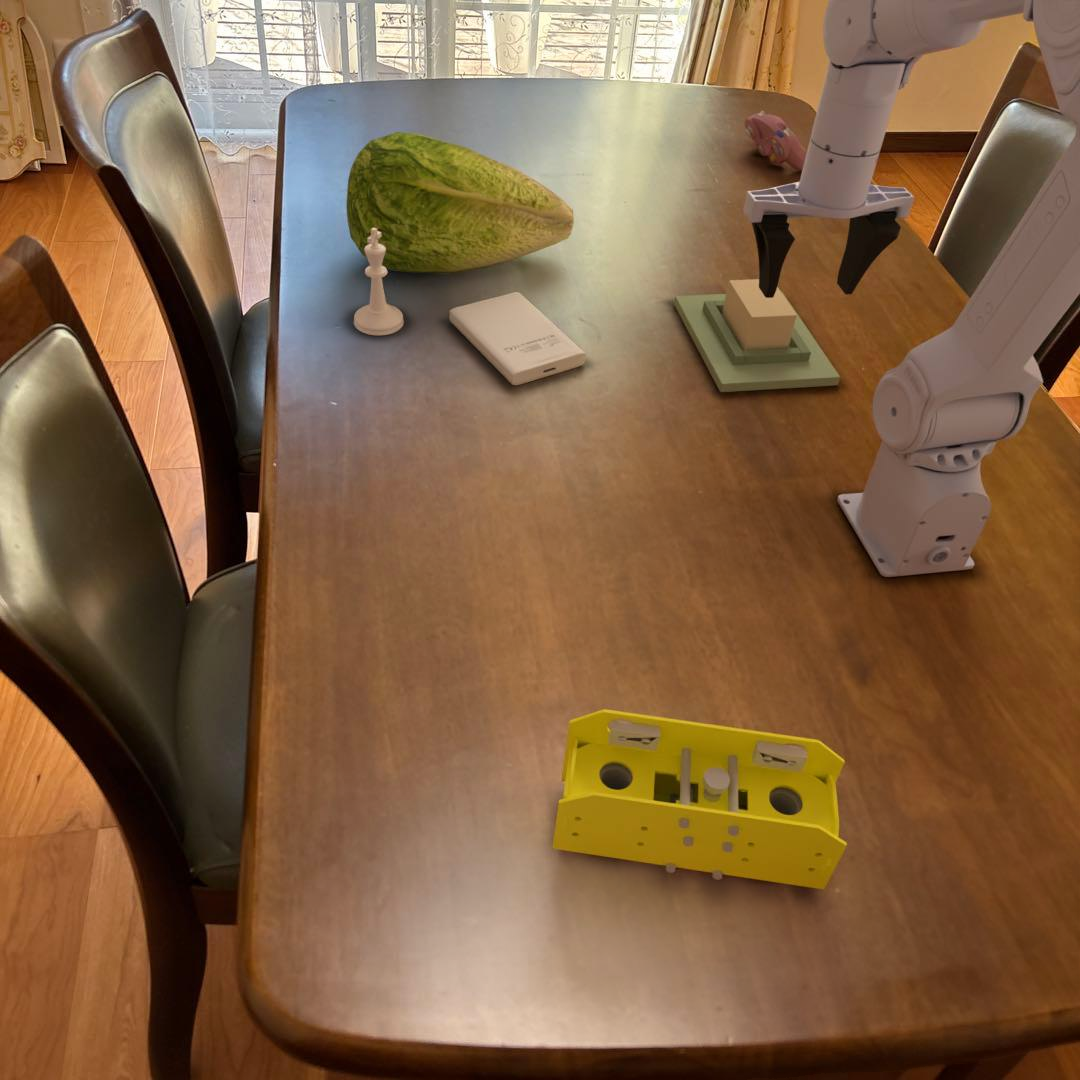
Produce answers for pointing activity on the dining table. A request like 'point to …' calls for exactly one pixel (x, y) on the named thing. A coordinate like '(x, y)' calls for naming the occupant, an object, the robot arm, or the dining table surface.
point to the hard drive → (516, 338)
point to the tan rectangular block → (757, 316)
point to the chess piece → (377, 295)
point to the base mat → (752, 351)
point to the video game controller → (775, 140)
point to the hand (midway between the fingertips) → (805, 290)
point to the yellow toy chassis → (700, 798)
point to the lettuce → (448, 206)
